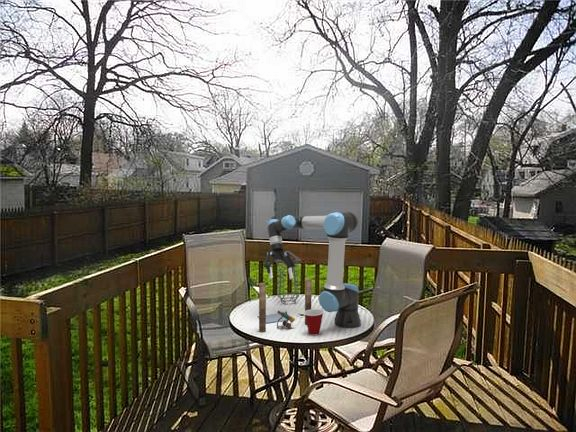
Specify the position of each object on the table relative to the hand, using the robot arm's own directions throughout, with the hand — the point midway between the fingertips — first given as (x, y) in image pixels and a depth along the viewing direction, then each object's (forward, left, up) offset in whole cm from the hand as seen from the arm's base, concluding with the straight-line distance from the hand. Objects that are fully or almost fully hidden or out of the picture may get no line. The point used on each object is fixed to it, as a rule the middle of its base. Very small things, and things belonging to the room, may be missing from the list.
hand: (281, 278), depth 260 cm
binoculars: (-12, +8, -25) cm, 29 cm away
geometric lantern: (+25, -31, -25) cm, 47 cm away
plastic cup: (-29, +4, -25) cm, 38 cm away
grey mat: (+5, +2, -24) cm, 25 cm away
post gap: (-12, +8, -24) cm, 29 cm away
